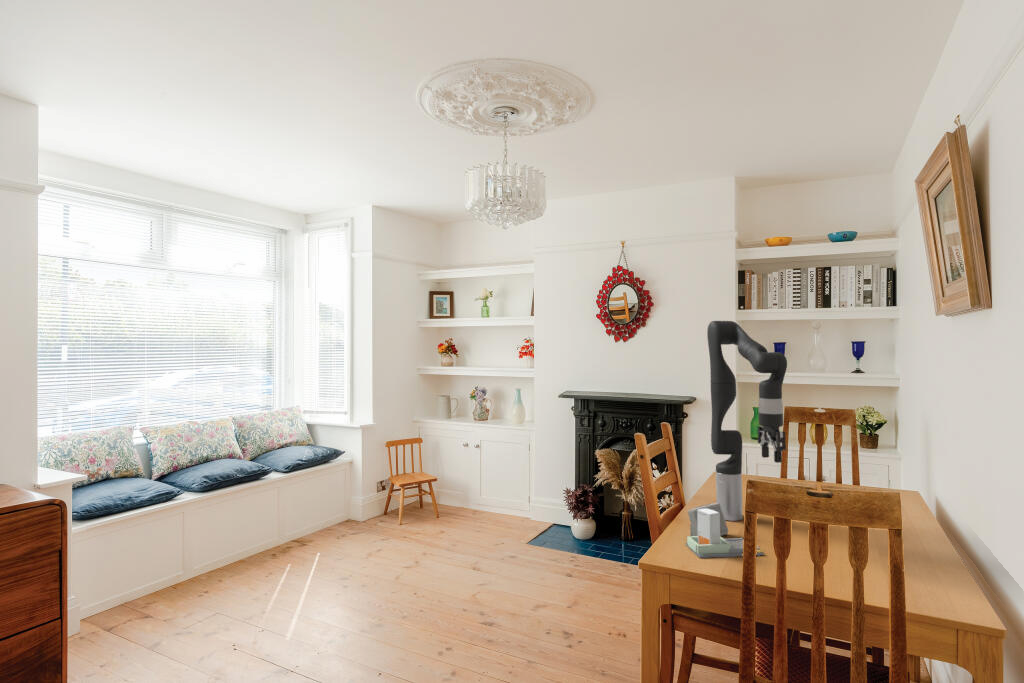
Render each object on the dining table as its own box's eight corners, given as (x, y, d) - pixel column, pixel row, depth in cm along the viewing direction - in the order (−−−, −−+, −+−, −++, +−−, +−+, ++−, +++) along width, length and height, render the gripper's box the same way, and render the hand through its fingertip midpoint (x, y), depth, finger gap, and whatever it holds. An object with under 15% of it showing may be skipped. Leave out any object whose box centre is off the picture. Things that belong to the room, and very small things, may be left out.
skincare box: (697, 546, 187) (696, 509, 187) (707, 544, 189) (707, 507, 189) (710, 552, 181) (709, 514, 181) (721, 550, 183) (720, 512, 183)
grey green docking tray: (684, 545, 191) (684, 535, 191) (745, 542, 192) (745, 532, 192) (699, 558, 179) (699, 547, 179) (763, 555, 180) (763, 545, 180)
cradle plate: (723, 543, 189) (723, 540, 189) (743, 542, 189) (743, 540, 189) (732, 550, 182) (732, 547, 182) (752, 549, 183) (752, 547, 183)
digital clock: (698, 544, 191) (697, 512, 191) (680, 536, 199) (679, 505, 200) (735, 537, 197) (735, 506, 197) (717, 530, 206) (716, 500, 206)
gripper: (792, 413, 187) (793, 463, 187) (771, 409, 202) (771, 455, 202) (770, 414, 187) (771, 464, 187) (750, 409, 201) (750, 456, 201)
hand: (771, 459), depth 194 cm, fingers open, 8 cm apart
